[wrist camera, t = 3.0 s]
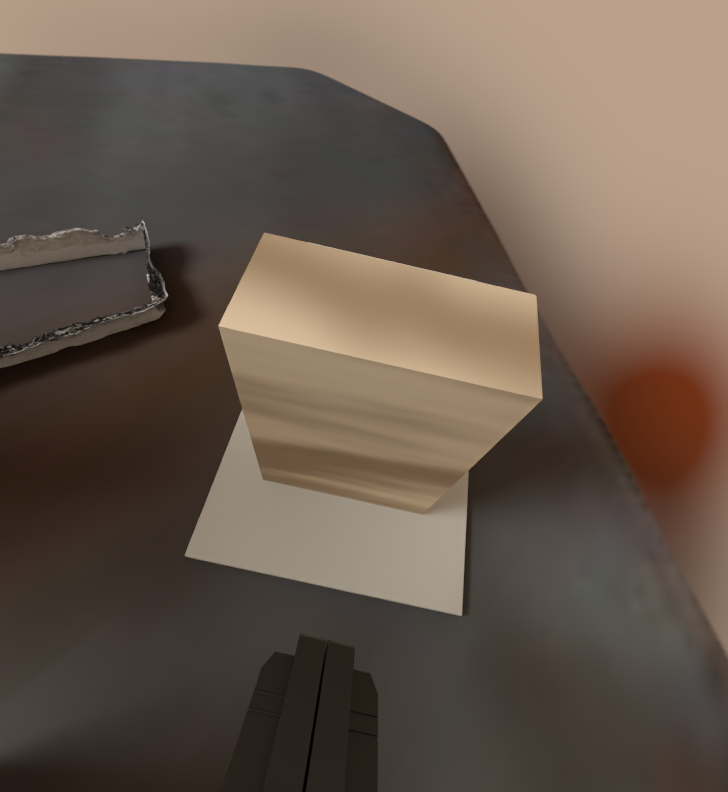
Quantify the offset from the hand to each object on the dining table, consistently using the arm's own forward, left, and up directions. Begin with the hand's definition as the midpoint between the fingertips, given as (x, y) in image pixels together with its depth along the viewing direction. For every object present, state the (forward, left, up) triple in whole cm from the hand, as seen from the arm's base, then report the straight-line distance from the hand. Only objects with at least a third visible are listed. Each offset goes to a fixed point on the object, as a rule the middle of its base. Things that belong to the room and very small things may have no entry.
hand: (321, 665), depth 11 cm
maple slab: (-5, +8, -9) cm, 13 cm away
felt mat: (-7, +13, -9) cm, 17 cm away
